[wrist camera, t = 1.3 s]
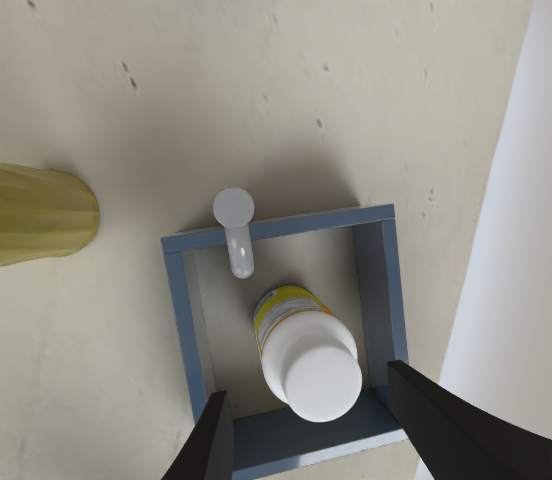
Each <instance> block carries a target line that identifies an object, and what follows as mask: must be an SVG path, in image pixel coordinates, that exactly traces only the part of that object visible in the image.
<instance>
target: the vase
mask: <svg viewBox="0 0 552 480" xmlns="http://www.w3.org/2000/svg"><path fill="white" fill-rule="evenodd" d="M98 222H99V209H98V205H97V202H96V199H95V197H94V195H93V194H92V192H91V191H90V190H89V188H88V187H87V186H86V185H85V184H84V183H83V182H81V181H80V180H79V179H77V178H76V177H74V176H72V175H69V174H67V173H63V172H59V171H55V170H39V169H35V168H30V167H25V166H19V165H12V164H5V163H0V267H2V266H7V265H12V264H16V263H20V262H24V261H29V260H34V259H40V258H46V257H63V256H68V255H71V254H73V253H76V252H78V251H79V250H81V249H83V248H84V247H85V246H86V245H87V244H88V243H89V242H90V241H91V239H92V238H93V236H94V235H95V233H96V230H97V227H98Z"/></svg>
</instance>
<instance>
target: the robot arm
mask: <svg viewBox="0 0 552 480" xmlns="http://www.w3.org/2000/svg"><path fill="white" fill-rule="evenodd" d="M387 382H388V400H389V403H390V405H391V407H392V409H393V411H394V413H395V415H396V417H397V419H398V421H399V423H400V425H401V427H402V428H403V430H404V431H405V433H406V435H407V436H408V438H409V440H410V441H411V443H412V444H413V446H414V447H415V449H416V451H417V452H418V454H419V455H420V457H421V459H422V460H423V462H424V463H425V464H426V466H427V468H428V470H429V471H430V472H431V474H432V476H433V478H434V479H435V480H552V440H551V439H547V438H545V437H542V436H539V435H537V434H535V433H532V432H529V431H527V430H524V429H522V428H520V427H517V426H515V425H513V424H510V423H508V422H506V421H504V420H501V419H499V418H497V417H495V416H493V415H491V414H488V413H487V412H485V411H483V410H481V409H479V408H477V407H475V406H473V405H471V404H469V403H468V402H466V401H464V400H462V399H461V398H459V397H457V396H455V395H454V394H452V393H450V392H449V391H447V390H446V389H444V388H442V387H441V386H439V385H438V384H436V383H435V382H433V381H431V380H430V379H428V378H427V377H425V376H424V375H422V374H421V373H419V372H418V371H416V370H415V369H414V368H412V367H411V366H409V365H408V364H406V363H405V362H403V361H401V360H400V359H399V360H394V361H388V362H387ZM233 461H234V426H233V421H232V416H231V411H230V406H229V401H228V396H227V391H226V390H224V391H218V392H213V393H212V394H211V395H210V397H209V399H208V401H207V403H206V406H205V408H204V410H203V412H202V414H201V416H200V418H199V420H198V421H197V423H196V425H195V427H194V429H193V431H192V432H191V434H190V436H189V438H188V439H187V441H186V443H185V444H184V446H183V448H182V449H181V451H180V452H179V454H178V456H177V457H176V459H175V460H174V462H173V463H172V465H171V466H170V468H169V469H168V470H167V472H166V473H165V475H164V476H163V477H162V479H161V480H232V472H233Z"/></svg>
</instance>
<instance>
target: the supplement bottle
mask: <svg viewBox="0 0 552 480" xmlns="http://www.w3.org/2000/svg"><path fill="white" fill-rule="evenodd" d="M253 325H254V330H255V335H256V340H257V345H258V349H259V354H260V359H261V364H262V369H263V373H264V377H265V380H266V382H267V384H268V386H269V388H270V389H271V390H272V392H273V393H274V394H275V395H276V396H277V397H278V398H279V399H280V400H282V401H283V402H285V403H287V404H289V405H290V407H291V408H292V410H293V411H294V412H295V413H296V414H298V415H299V416H300V417H302V418H304V419H306V420H309V421H313V422H326V421H330V420H334V419H336V418H338V417H340V416H342V415H343V414H345V413H346V412H347V411H348V410H349V409H350V408H351V407H352V406H353V405H354V403H355V402H356V400H357V398H358V396H359V393H360V391H361V385H362V375H361V370H360V367H359V365H358V363H357V348H356V344H355V341H354V339H353V336H352V335H351V333H350V331H349V330H348V329H347V328H346V326H345V325H344V324H343V323H342V322H341V321H340V320H339V319H338V318H337V317H336V316H335V315H334V314H333V313H332V312H331V311H329V309H328V308H326V307H325V306H324V305H323V304H322V303H321V302H320V301H319V300H318V299H317V298H316V297H315V296H314V295H313V294H312V293H311V292H309V291H308V290H306V289H305V288H303V287H301V286H298V285H294V284H283V285H279V286H276V287H273V288H272V289H270V290H268V291H267V292H266V293H265V294H263V296H262V297H261V298H260V299H259V301H258V302H257V304H256V307H255V310H254V314H253Z"/></svg>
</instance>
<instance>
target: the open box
mask: <svg viewBox="0 0 552 480" xmlns="http://www.w3.org/2000/svg"><path fill="white" fill-rule="evenodd" d="M254 209H255V207H254V202H253V199H252V197H251V196H250V194H249V193H248V192H247V191H245V190H244V189H242V188H239V187H228V188H225V189H223V190H222V191H220V192H219V193H218V194H217V195H216V197H215V199H214V202H213V213H214V216H215V218H216V219H217V221H218V222H219V223H220V224H221V225H223V226H216V227H209V228H202V229H195V230H188V231H181V232H175V233H173V234H170V235H167V236H164V237H162V238H161V243H162V248H163V253H164V259H165V265H166V270H167V275H168V281H169V286H170V292H171V297H172V303H173V308H174V314H175V319H176V325H177V330H178V336H179V341H180V347H181V352H182V357H183V363H184V368H185V374H186V379H187V385H188V390H189V396H190V401H191V407H192V412H193V418H194V423H195V425H196V423H197V421H198V420H199V418H200V416H201V414H202V412H203V410H204V408H205V406H206V403H207V401H208V399H209V397H210V395H211V394H212V393H213V392H217V391H216V385H215V380H214V374H213V368H212V362H211V356H210V351H209V345H208V339H207V333H206V327H205V321H204V316H203V310H202V304H201V298H200V292H199V287H198V281H197V275H196V269H195V263H194V257H193V252H192V250H193V249H200V248H206V247H213V246H219V245H226V244H227V247H228V253H229V259H230V266H231V271H232V273H233V274H234V275H235V276H236V277H238V278H247V277H249V276H250V275H251V274H252V273H253V271H254V259H253V252H252V245H251V241H252V240H258V239H265V238H271V237H278V236H284V235H291V234H297V233H304V232H310V231H317V230H323V229H330V228H336V227H343V226H349V225H353V234H354V243H355V253H356V262H357V271H358V280H359V289H360V298H361V307H362V316H363V325H364V334H365V343H366V352H367V361H368V370H369V379H370V389H366V390H362V391H360V393H359V396H358V398H357V400H356V402H355V403H354V405H353V406H352V407H351V408H350V409H349V410H348V411H347V412H346V413H345V414H343V415H342V416H340V417H338V418H336V419H334V420H330V421H326V422H313V421H309V420H306V419H304V418H302V417H300V416H299V415H298V414H296V413H295V412H294V411H293V410H292V408H291V407H289V408H285V409H280V410H276V411H272V412H268V413H263V414H259V415H255V416H250V417H246V418H242V419H238V420H233V426H234V461H233V472H232V480H254V479H258V478H262V477H266V476H269V475H273V474H277V473H281V472H285V471H288V470H292V469H296V468H300V467H304V466H307V465H311V464H315V463H319V462H323V461H326V460H330V459H334V458H338V457H342V456H345V455H349V454H353V453H357V452H361V451H364V450H368V449H372V448H376V447H380V446H383V445H387V444H391V443H395V442H399V441H403V440H406V439H409V438H408V436H407V435H406V433H405V431H404V430H403V428H402V427H401V425H400V423H399V421H398V419H397V417H396V415H395V413H394V411H393V409H392V407H391V405H390V403H389V400H388V382H387V362H388V361H394V360H399V359H400V360H401V361H403V362H405V363H406V364H408V365H409V362H408V352H407V341H406V330H405V320H404V309H403V299H402V288H401V278H400V267H399V256H398V246H397V235H396V225H395V219H394V218H395V212H394V204H378V205H361V206H354V207H347V208H340V209H333V210H326V211H319V212H312V213H305V214H299V215H292V216H285V217H278V218H271V219H264V220H257V221H250V220H251V219H252V217H253V214H254ZM249 221H250V222H249Z"/></svg>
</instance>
